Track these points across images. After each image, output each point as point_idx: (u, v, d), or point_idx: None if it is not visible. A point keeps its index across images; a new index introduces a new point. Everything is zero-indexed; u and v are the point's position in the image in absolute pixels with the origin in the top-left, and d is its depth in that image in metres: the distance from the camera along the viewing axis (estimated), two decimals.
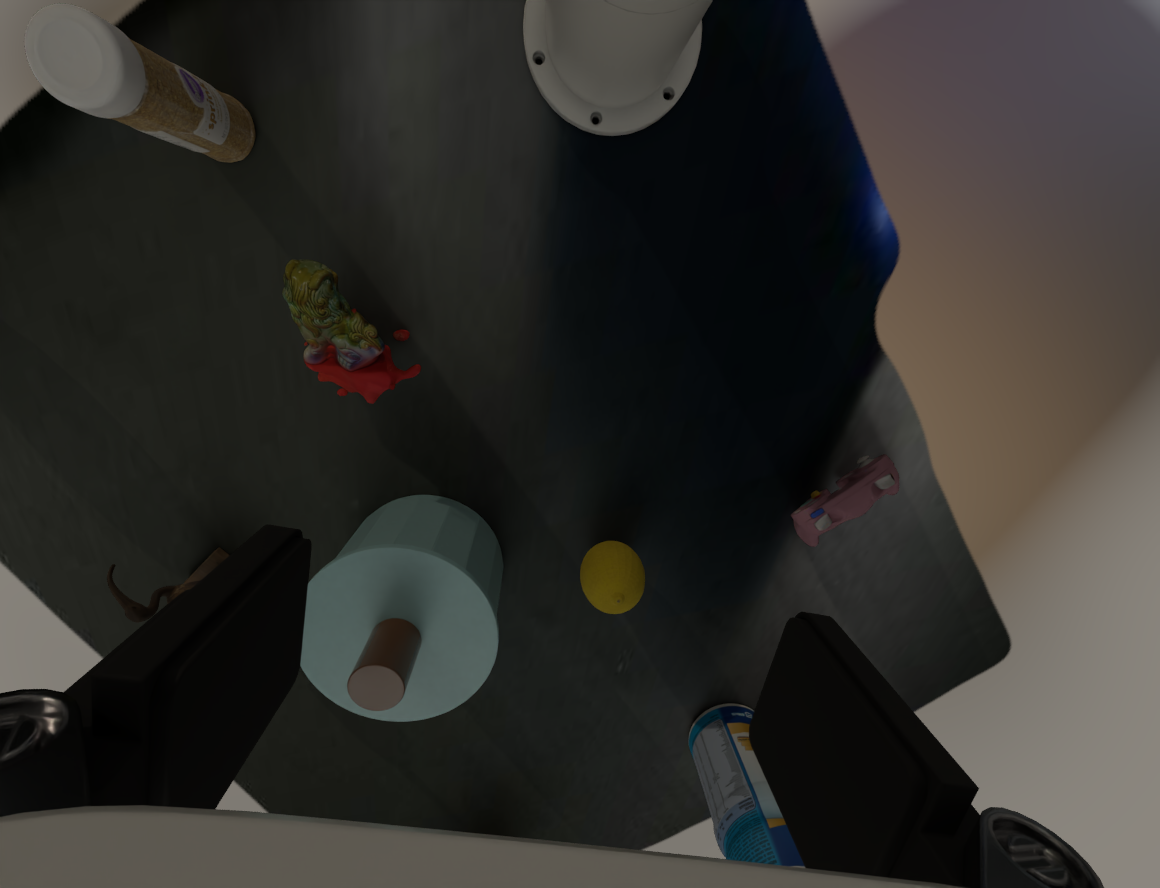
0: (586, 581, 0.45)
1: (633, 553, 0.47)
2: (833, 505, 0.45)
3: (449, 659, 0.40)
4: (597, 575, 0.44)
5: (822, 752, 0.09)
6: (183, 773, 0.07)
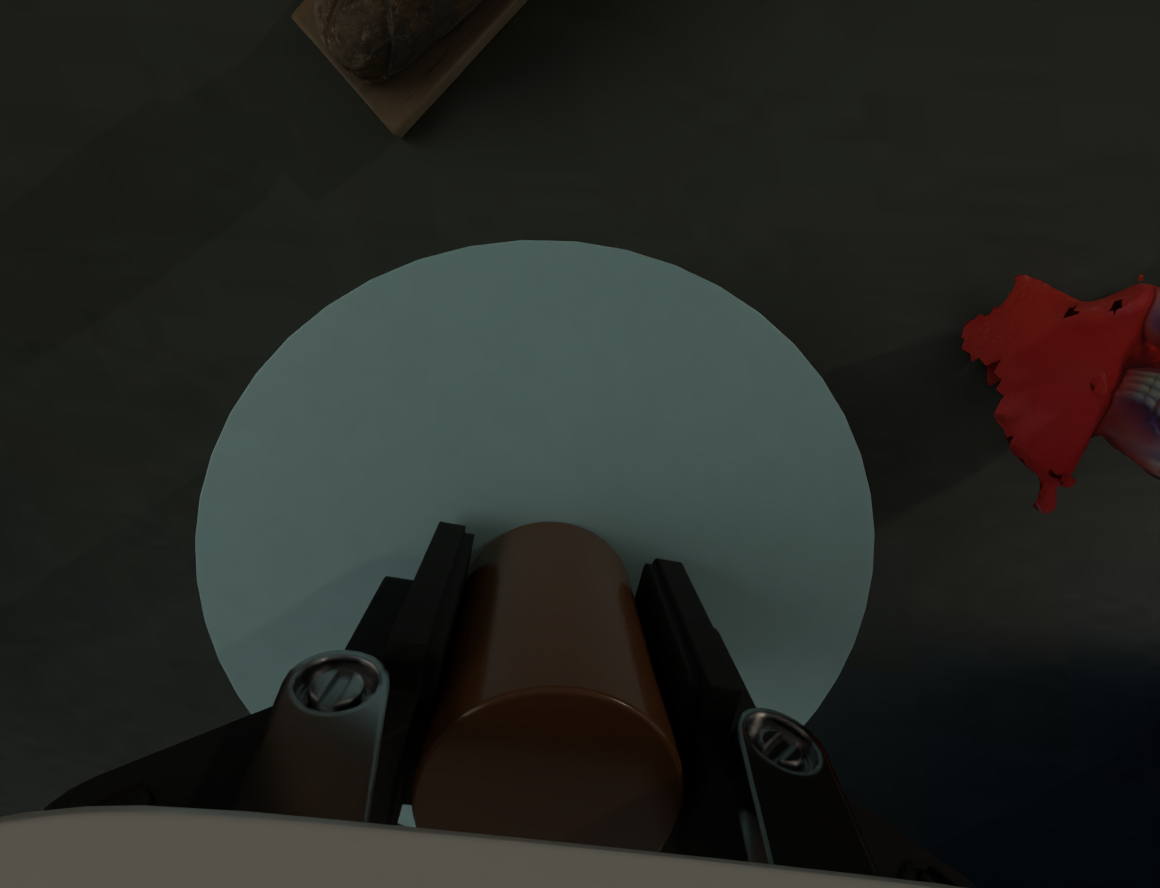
0: None
1: None
2: None
3: None
4: None
5: None
6: None
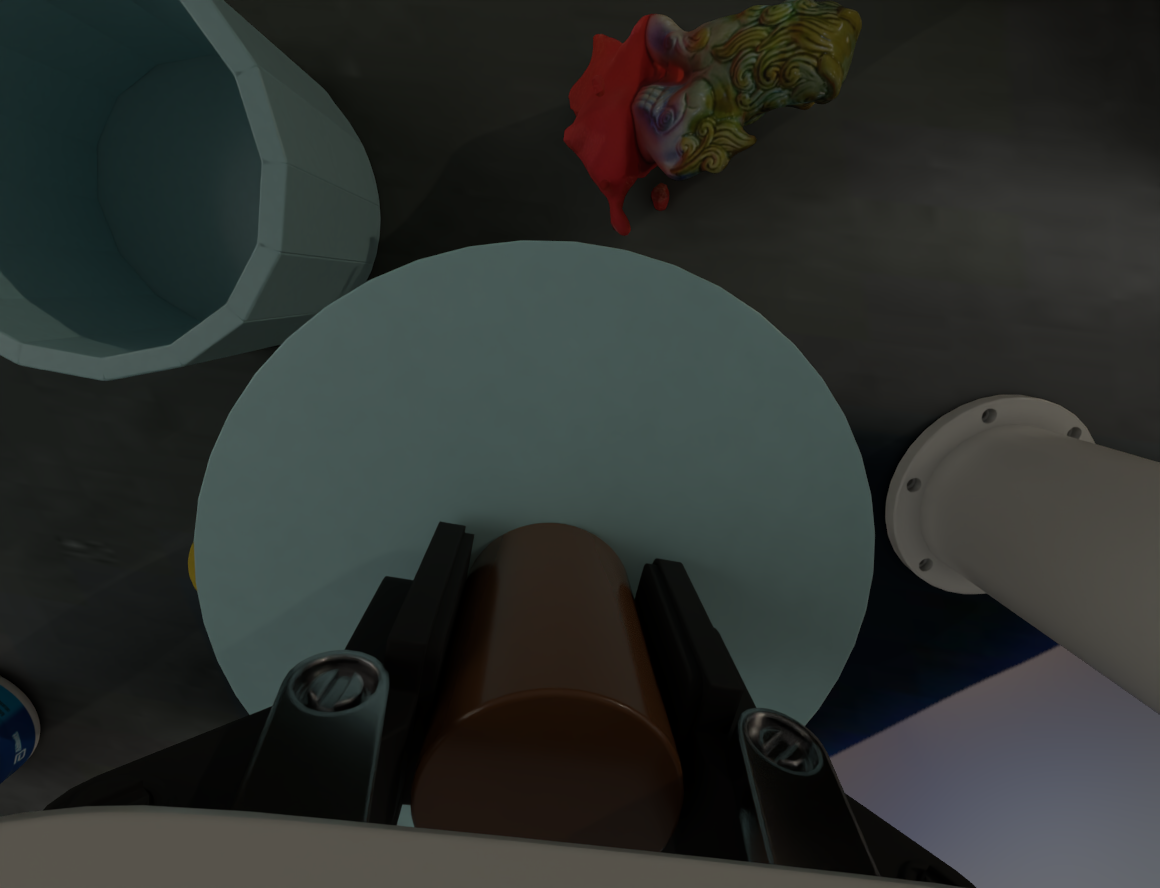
0: None
1: None
2: None
3: None
4: None
5: None
6: None
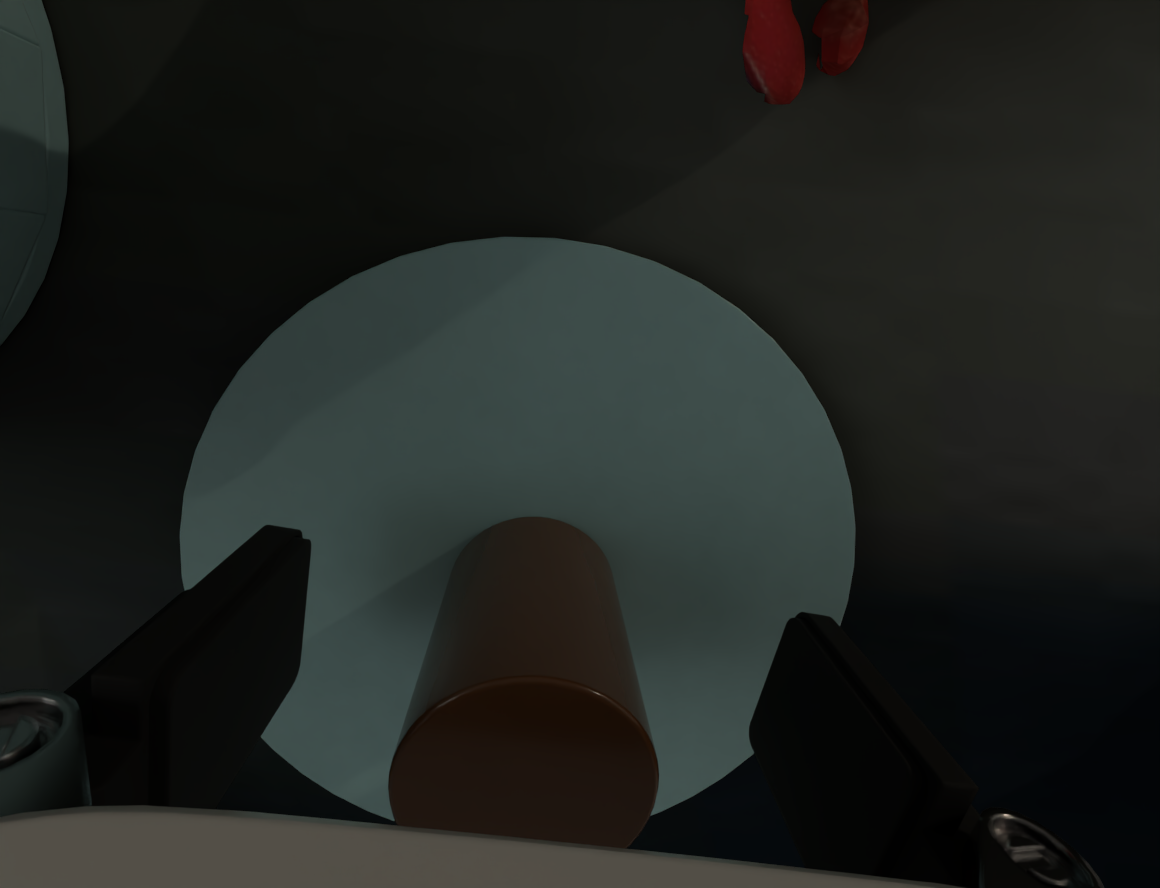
0: None
1: None
2: None
3: None
4: None
5: (822, 752, 0.09)
6: (183, 773, 0.07)
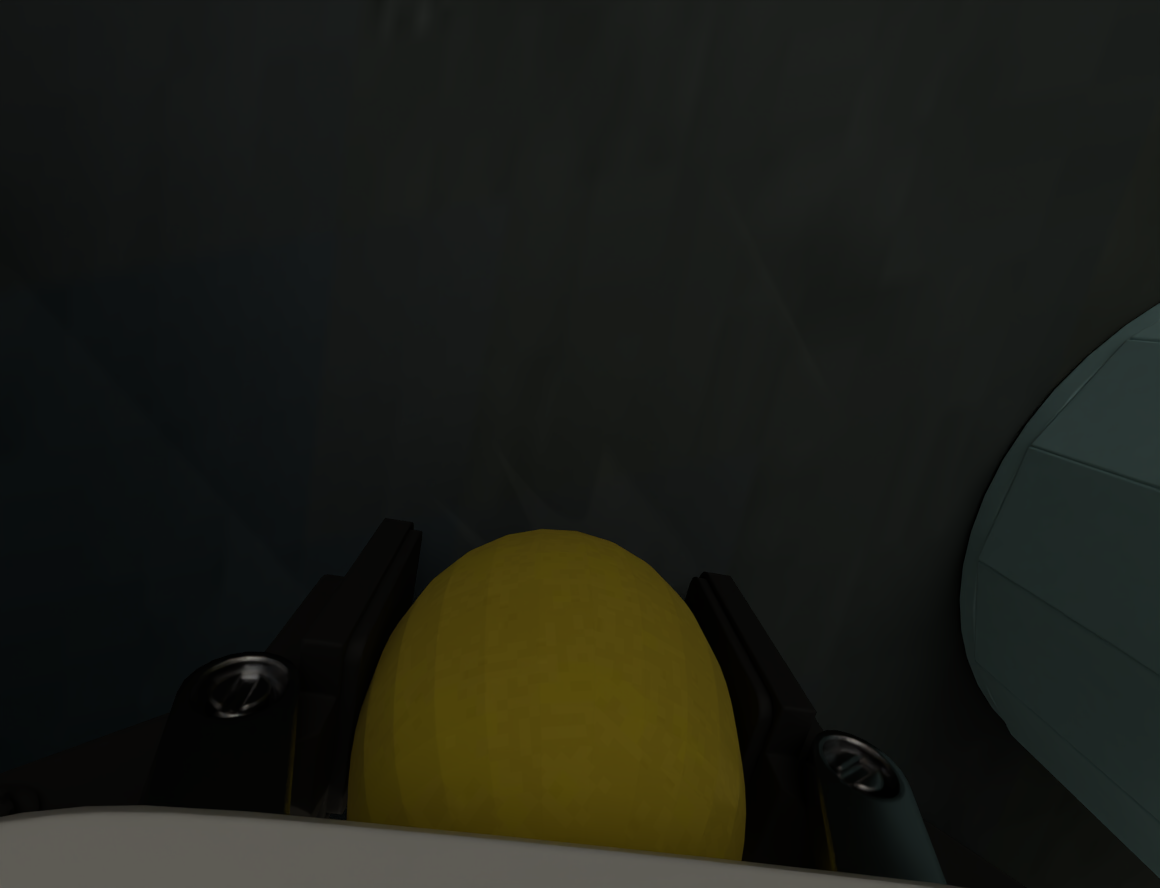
0: None
1: None
2: None
3: None
4: None
5: None
6: (355, 727, 0.08)
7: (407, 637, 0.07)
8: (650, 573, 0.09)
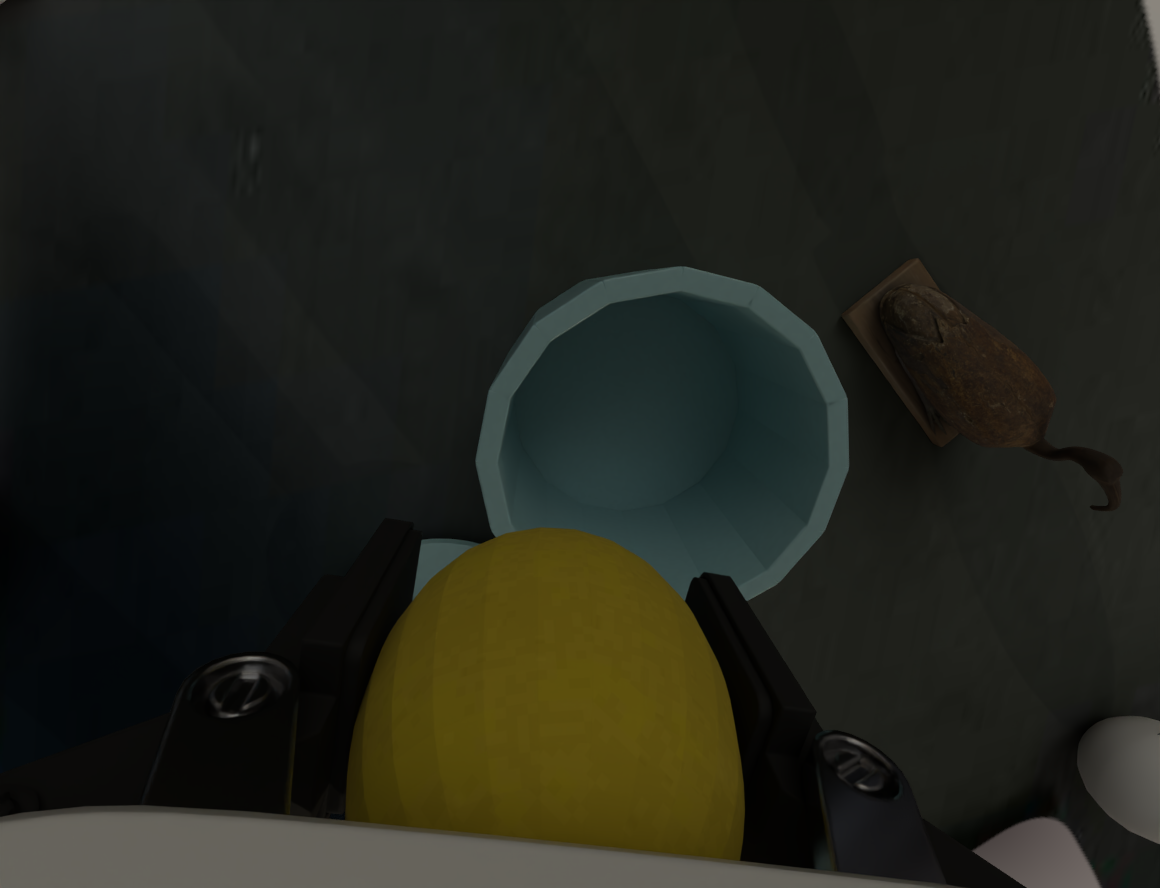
0: None
1: None
2: None
3: None
4: None
5: None
6: None
7: (405, 635, 0.07)
8: (649, 571, 0.09)
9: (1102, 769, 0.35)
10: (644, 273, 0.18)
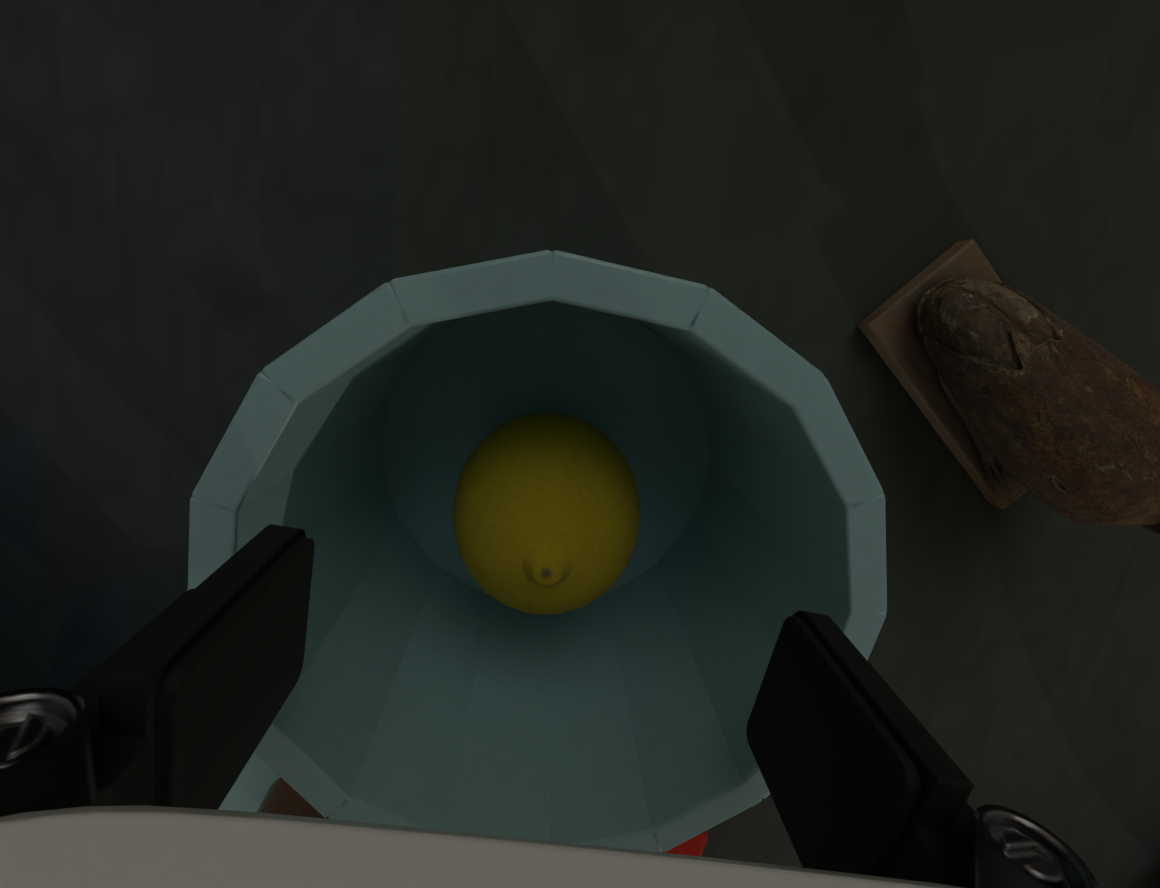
0: (633, 548, 0.15)
1: None
2: None
3: None
4: (604, 592, 0.15)
5: (819, 750, 0.09)
6: (188, 771, 0.07)
7: (479, 449, 0.15)
8: (599, 430, 0.17)
9: None
10: (474, 265, 0.09)
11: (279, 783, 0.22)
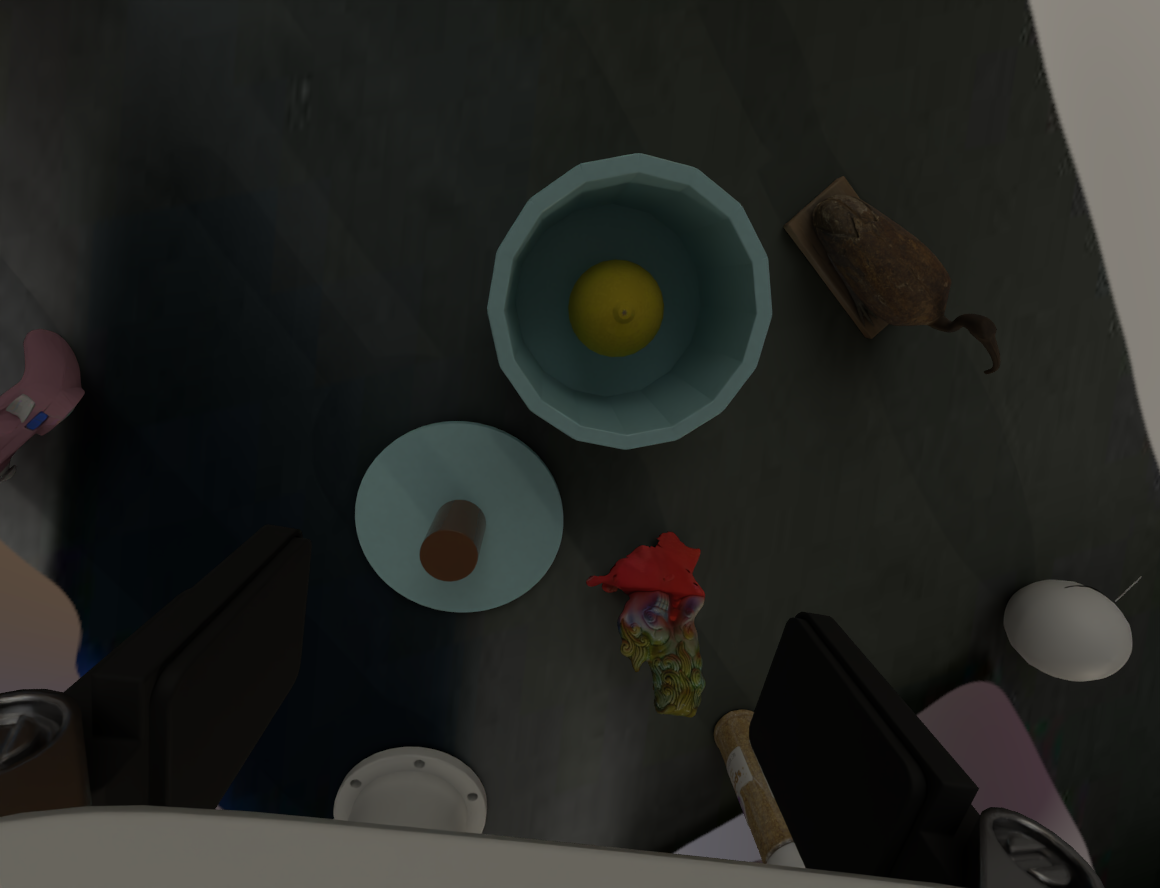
0: (661, 320, 0.31)
1: None
2: (14, 437, 0.31)
3: (405, 499, 0.38)
4: (647, 339, 0.30)
5: (822, 752, 0.09)
6: (183, 772, 0.07)
7: (584, 273, 0.31)
8: None
9: (1020, 620, 0.41)
10: (610, 158, 0.24)
11: (446, 504, 0.38)
